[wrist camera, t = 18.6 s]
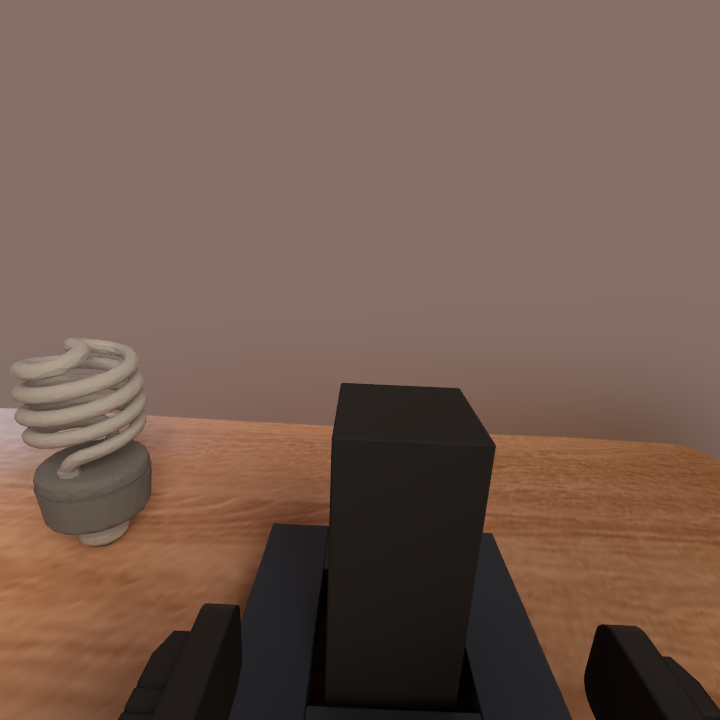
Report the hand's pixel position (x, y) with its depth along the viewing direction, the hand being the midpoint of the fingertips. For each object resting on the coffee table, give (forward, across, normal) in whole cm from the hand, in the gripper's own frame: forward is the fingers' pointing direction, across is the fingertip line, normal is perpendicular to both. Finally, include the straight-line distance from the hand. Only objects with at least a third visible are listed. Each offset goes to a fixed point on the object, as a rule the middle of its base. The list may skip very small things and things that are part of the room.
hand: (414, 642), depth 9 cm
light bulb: (+12, +16, +9) cm, 22 cm away
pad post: (+6, 0, +9) cm, 10 cm away
